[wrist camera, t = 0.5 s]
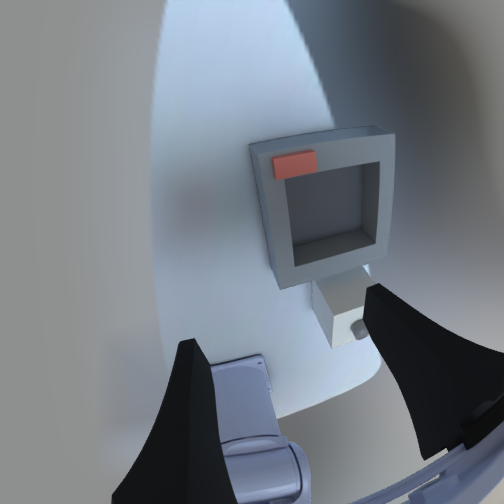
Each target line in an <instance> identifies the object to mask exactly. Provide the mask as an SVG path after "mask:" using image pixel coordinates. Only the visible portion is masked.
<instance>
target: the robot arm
mask: <svg viewBox="0 0 504 504" xmlns="http://www.w3.org/2000/svg"><path fill="white" fill-rule="evenodd" d="M362 319H363V322H364V324H365V326H366V328H367V331H368V333H369V335H370V337H371V339H372V341H373V342H374V344H375V346H376V347H377V349H378V351H379V352H380V354H381V356H382V357H383V359H384V361H385V362H386V364H387V366H388V367H389V369H390V371H391V372H392V374H393V376H394V378H395V379H396V381H397V383H398V385H399V388H400V390H401V392H402V395H403V397H404V400H405V402H406V405H407V408H408V410H409V413H410V416H411V419H412V422H413V425H414V428H415V432H416V435H417V439H418V443H419V448H420V452H421V455H422V458H423V459H424V460H427V459H428V458H430V457H432V456H434V455H435V454H437V453H439V452H440V451H442V450H443V449H445V448H447V450H448V453H447V454H445V455H444V456H442V457H441V458H439V459H437V460H436V461H434V462H433V463H431V464H429V465H428V466H426V467H424V468H423V469H421V470H419V471H417V472H416V473H414V474H412V475H410V476H409V477H407V478H405V479H403V480H401V481H399V482H397V483H395V484H393V485H391V486H389V487H387V488H385V489H382V490H380V491H378V492H376V493H374V494H371V495H369V496H367V497H364V498H362V499H359V500H357V501H354V502H352V503H349V504H385V503H387V502H390V501H392V500H393V499H396V498H398V497H400V496H402V495H404V494H405V493H407V492H409V491H411V490H413V489H414V488H416V487H418V486H420V485H422V484H423V483H425V482H427V481H429V480H430V479H432V478H433V477H435V476H436V475H438V474H440V476H439V478H437V479H434V480H432V481H430V482H428V483H426V484H424V485H423V486H421V487H419V488H418V489H416V490H415V491H413V492H412V493H410V494H409V495H408V497H409V500H408V501H405V502H403V503H401V504H479V503H480V502H481V501H482V500H483V499H484V498H485V497H486V496H487V495H488V494H489V493H490V492H491V491H492V490H493V489H494V488H495V487H496V486H497V484H499V482H500V481H501V480H502V479H503V478H504V353H502V352H498V351H495V350H492V349H489V348H486V347H484V346H481V345H478V344H476V343H474V342H471V341H469V340H467V339H464V338H462V337H460V336H458V335H457V334H455V333H453V332H450V331H449V330H447V329H445V328H444V327H442V326H440V325H438V324H437V323H435V322H434V321H432V320H431V319H429V318H427V317H426V316H424V315H423V314H421V313H420V312H419V311H417V310H416V309H414V308H413V307H411V306H410V305H408V304H407V303H406V302H404V301H403V300H402V299H400V298H399V297H397V296H396V295H395V294H393V293H392V292H391V291H389V290H388V289H386V288H385V287H383V286H382V285H381V284H379V283H378V284H375V285H372V286H369V287H367V288H366V296H365V304H364V311H363V318H362ZM272 392H273V390H272V387H271V383H270V380H269V376H268V373H267V369H266V366H265V362H264V359H263V356H261V355H259V356H254V357H250V358H246V359H242V360H238V361H234V362H230V363H225V364H221V365H217V366H212V367H210V364H209V362H208V360H207V359H206V357H205V355H204V354H203V352H202V350H201V349H200V347H199V345H198V343H197V342H196V340H195V338H193V339H188V340H184V341H180V342H179V344H178V349H177V353H176V357H175V361H174V365H173V369H172V373H171V376H170V379H169V383H168V386H167V389H166V393H165V396H164V399H163V401H162V404H161V407H160V410H159V413H158V415H157V418H156V420H155V423H154V425H153V428H152V430H151V432H150V434H149V436H148V438H147V440H146V442H145V444H144V446H143V448H142V450H141V452H140V454H139V456H138V457H137V459H136V461H135V462H134V464H133V466H132V468H131V469H130V471H129V472H128V474H127V475H126V477H125V478H124V479H123V481H122V482H121V483H120V485H119V486H118V488H117V489H116V490H115V492H114V493H113V494H112V501H111V504H311V499H312V497H311V490H310V483H311V473H310V468H309V464H308V461H307V458H306V456H305V453H304V452H303V450H302V449H301V448H300V447H299V446H297V445H296V444H295V443H294V442H288V441H287V437H286V436H281V433H280V430H279V426H278V423H277V419H276V415H275V412H274V408H273V404H272V401H271V397H270V393H272Z"/></svg>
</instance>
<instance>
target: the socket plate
mask: <svg viewBox="0 0 504 504" xmlns="http://www.w3.org/2000/svg"><path fill="white" fill-rule="evenodd" d="M249 147H250V152H251V158H252V163H253V168H254V173H255V179H256V184H257V190H258V195H259V200H260V206H261V211H262V217H263V223H264V228H265V234H266V239H267V245H268V251H269V256H270V262H271V268H272V271H273V273H274V276H275V278H276V281H277V283H278V286H279V288H280V290H282V289H285V288H289V287H292V286H296V285H299V284H303V283H306V282H310V281H313V280H317V279H320V278H323V277H327V276H330V275H333V274H337V273H340V272H343V271H346V270H350V269H353V268H356V267H359V266H362V265H366V264H369V263H372V262H375V261H378V260H381V259H384V258H386V256H387V249H388V242H389V233H390V225H391V214H392V204H393V189H394V170H395V134H394V133H392V132H390V131H387V130H384V129H382V128H379V127H377V126H364V127H354V128H345V129H336V130H329V131H322V132H315V133H308V134H302V135H296V136H290V137H284V138H279V139H274V140H268V141H263V142H259V143H254V144H249Z"/></svg>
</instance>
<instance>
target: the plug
mask: <svg viewBox="0 0 504 504" xmlns="http://www.w3.org/2000/svg"><path fill="white" fill-rule="evenodd" d="M311 283H312V308H313V311H314V313H315V315H316V317H317V319H318V321H319V324H320V326H321V328H322V330H323V332H324V334H325V336H326V338H327V341H328V343H329V345H330V347H331V349H333V348H336V347H339V346H342V345H344V344H347V343H350V342H353V341H355V340H361V339H363V338H365V337H367V336H368V335H369V333H368V331H367V328H366V326H365V324H364V322H363V319H362V318H363V311H364V304H365V296H366V288H367V287H369V286H372V285H375V282H374V281H373V280H372V278H371V277H370V276H369V274H368V273H367V272H366V270H365V269H364V268H363V267H362V266H359V267H356V268H353V269H350V270H346V271H343V272H340V273H337V274H333V275H330V276H327V277H323V278H320V279H317V280H313V281H311Z"/></svg>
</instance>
